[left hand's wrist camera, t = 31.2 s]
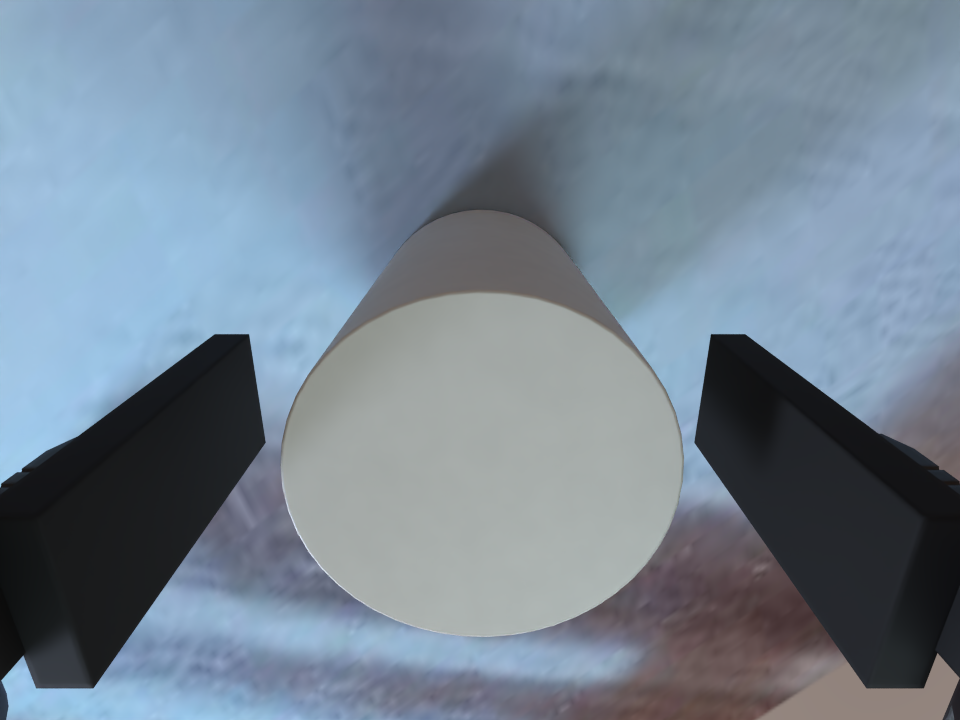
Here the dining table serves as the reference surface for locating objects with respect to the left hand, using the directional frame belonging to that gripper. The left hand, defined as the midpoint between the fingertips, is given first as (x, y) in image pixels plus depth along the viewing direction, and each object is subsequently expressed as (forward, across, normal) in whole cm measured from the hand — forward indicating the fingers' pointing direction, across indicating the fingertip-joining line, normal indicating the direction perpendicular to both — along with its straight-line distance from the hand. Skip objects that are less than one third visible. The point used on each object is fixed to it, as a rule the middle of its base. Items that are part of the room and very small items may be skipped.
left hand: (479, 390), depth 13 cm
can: (+6, 0, 0) cm, 6 cm away
